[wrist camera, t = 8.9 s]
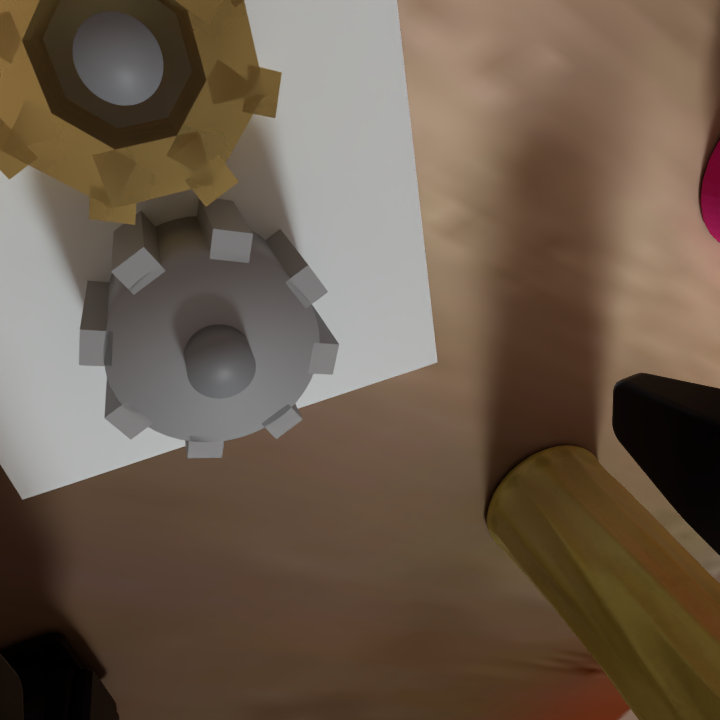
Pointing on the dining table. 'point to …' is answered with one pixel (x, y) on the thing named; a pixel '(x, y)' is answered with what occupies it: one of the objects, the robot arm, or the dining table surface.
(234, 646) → the dining table surface
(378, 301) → the gear board
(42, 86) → the gear
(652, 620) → the vase
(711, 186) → the pepper mill
